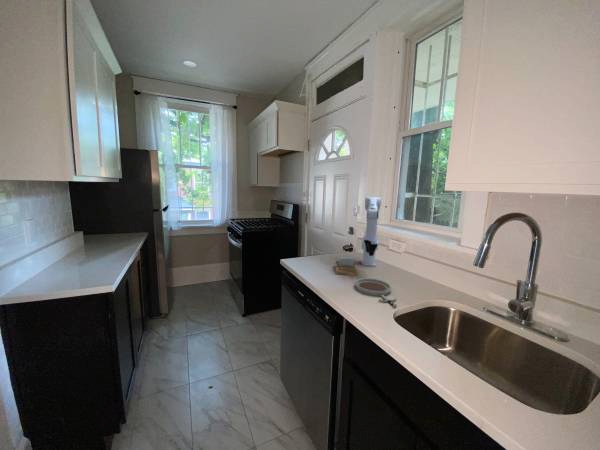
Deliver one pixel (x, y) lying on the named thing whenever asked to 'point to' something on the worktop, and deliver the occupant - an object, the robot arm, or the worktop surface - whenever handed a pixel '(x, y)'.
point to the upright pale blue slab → (346, 261)
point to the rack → (345, 269)
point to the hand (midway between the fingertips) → (369, 253)
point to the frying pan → (375, 288)
